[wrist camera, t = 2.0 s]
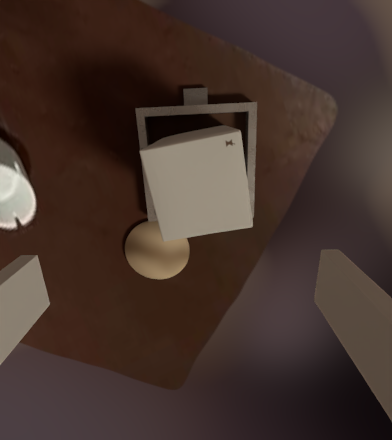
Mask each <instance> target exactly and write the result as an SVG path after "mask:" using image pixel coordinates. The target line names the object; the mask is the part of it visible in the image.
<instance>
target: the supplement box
mask: <svg viewBox="0 0 392 440" xmlns="http://www.w3.org/2000/svg"><path fill="white" fill-rule="evenodd" d="M139 152H140V156H141V160H142V164H143V168H144V171H145V175H146V179H147V183H148V187H149V191H150V195H151V198H152V202H153V206H154V210H155V214H156V217H157V221H158V225H159V229H160V232H161V236H162V240H163V242H165V241H170V240H176V239H182V238H188V237H193V236H199V235H205V234H211V233H217V232H223V231H230V230H236V229H242V228H249V227H252V226H253V221H252V213H251V206H250V198H249V190H248V179H247V175H246V167H245V160H244V152H243V144H242V136H241V131H240V130H238V129H235V128H232V127H228V126H225V125H222V126H216V127H211V128H205V129H200V130H195V131H190V132H185V133H181V134H176V135H172V136H168V137H164V138H162V139H160V140H158V141H157V142H155V143H153V144H151V145H149V146H147V147H145V148H144V149H142V150H140V151H139Z"/></svg>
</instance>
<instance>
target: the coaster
mask: <svg viewBox="0 0 392 440" xmlns="http://www.w3.org/2000/svg"><path fill="white" fill-rule="evenodd" d="M125 254H126V258H127V260H128V262H129V264H130V265H131V267H132V268H133V269H134V270H135V271H137V272H138V273H139V274H141V275H143V276H145V277H148V278H152V279H165V278H169V277H172V276H174V275H176V274H178V273H179V272H180V271H181V270H182V269H183V268H184V267H185V265H186V263H187V261H188V258H189V243H188V240H187V238H182V239H176V240H170V241H165V242H163V240H162V236H161V232H160V229H159V225H158V221H151V222H148V221H146V222H143V223H141V224H139V225H137V226H136V227H135V228H134V229H133V230H132V231H131V232H130V234H129V236H128V237H127V240H126V243H125Z"/></svg>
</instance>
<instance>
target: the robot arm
mask: <svg viewBox="0 0 392 440" xmlns="http://www.w3.org/2000/svg"><path fill="white" fill-rule="evenodd" d="M314 301H315V303H316V304H317V306H318V307H319V309H320V311H321V312H322V314H323V315H324V317H325V318H326V320H327V321H328V323H329V324H330V326H331V328H332V329H333V331H334V332H335V334H336V335H337V337H338V338H339V340H340V341H341V343H342V345H343V346H344V348H345V349H346V351H347V352H348V354H349V356H350V357H351V359H352V360H353V362H354V363H355V365H356V366H357V368H358V370H359V371H360V373H361V374H362V376H363V377H364V379H365V380H366V382H367V383H368V385H369V387H370V388H371V390H372V391H373V393H374V394H375V396H376V398H377V399H378V401H379V402H380V404H381V405H382V407H383V408H384V410H385V412H386V413H387V415H388V416H389V418H390V419H391V421H392V298H391V297H390V296H388V295H387V294H386V293H385V292H384V291H383V290H382V289H381V288H380V287H379V286H378V285H377V284H376V283H375V282H373V281H372V280H371V279H370V278H369V277H368V276H367V275H366V274H365V273H364V272H362V271H361V270H360V269H359V268H358V267H357V266H356V265H355V264H354V263H353V262H352V261H350V260H349V259H348V258H347V257H346V256H345V255H344V254H343V253H342V252H341V251H339V250H322V251H321V257H320V263H319V270H318V276H317V284H316V290H315V297H314ZM49 305H50V302H49V299H48V295H47V291H46V287H45V283H44V279H43V275H42V271H41V268H40V264H39V260H38V256H37V255H21V256H20V257H18V258H17V259H16V260H14V261H13V262H12V263H10V264H9V265H8V266H6V267H5V268H4V269H2V270H1V271H0V365H1V363H2V362H3V361H4V360H5V359H6V357H7V356H8V355H9V354H10V352H11V351H12V350H13V349H14V348H15V346H16V345H17V344H18V343H19V341H20V340H21V339H22V338H23V337H24V335H25V334H26V333H27V332H28V331H29V329H30V328H31V327H32V326H33V324H34V323H35V322H36V321H37V320H38V318H39V317H40V316H41V315H42V313H43V312H44V311H45V310H46V309H47V307H48V306H49Z"/></svg>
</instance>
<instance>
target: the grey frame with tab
mask: <svg viewBox="0 0 392 440" xmlns="http://www.w3.org/2000/svg"><path fill="white" fill-rule="evenodd" d="M183 94H184V106H170V107H151V108H135V109H136V118H137V127H138V135H139V144H140V150H142V149H144V148H145V147H147V146H149V145H150V139H149V129H148V120H147V117H153V116H173V115H192V114H212V113H232V112H246V142H245V167H246V175H247V179H248V190H249V198H250V206H251V213H252V217H254V189H255V155H256V121H257V102H248V103H229V104H209V105H208V96H207V88H192V89H183ZM141 161H142V160H141ZM142 170H143V178H144V187H145V196H146V204H147V213H148V222H151V221H157V217H156V214H155V210H154V206H153V202H152V198H151V195H150V191H149V187H148V183H147V179H146V175H145V171H144V168H143V164H142Z"/></svg>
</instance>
